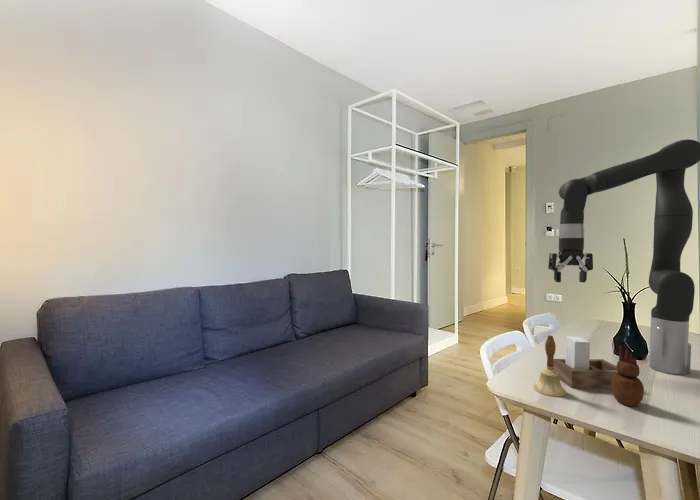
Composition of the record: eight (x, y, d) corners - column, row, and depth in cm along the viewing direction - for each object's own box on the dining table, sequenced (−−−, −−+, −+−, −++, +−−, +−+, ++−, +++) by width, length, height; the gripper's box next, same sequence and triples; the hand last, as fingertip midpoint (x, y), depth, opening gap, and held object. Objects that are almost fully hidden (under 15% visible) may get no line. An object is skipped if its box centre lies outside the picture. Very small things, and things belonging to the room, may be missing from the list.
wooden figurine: (605, 397, 93) (607, 343, 93) (625, 396, 94) (627, 343, 93) (627, 409, 86) (630, 352, 86) (648, 408, 87) (650, 351, 86)
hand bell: (566, 399, 92) (568, 341, 91) (532, 392, 96) (533, 337, 95) (566, 388, 99) (567, 334, 98) (534, 381, 103) (535, 330, 103)
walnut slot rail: (602, 374, 108) (602, 359, 108) (627, 388, 99) (627, 371, 98) (552, 374, 109) (552, 358, 109) (571, 387, 99) (572, 371, 99)
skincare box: (589, 382, 100) (590, 342, 100) (573, 381, 101) (574, 341, 101) (579, 374, 106) (580, 336, 106) (564, 373, 107) (565, 335, 107)
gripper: (584, 236, 123) (583, 281, 124) (545, 236, 124) (544, 280, 124) (599, 236, 116) (597, 283, 117) (557, 236, 116) (556, 283, 117)
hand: (570, 282), depth 120 cm, fingers open, 8 cm apart
